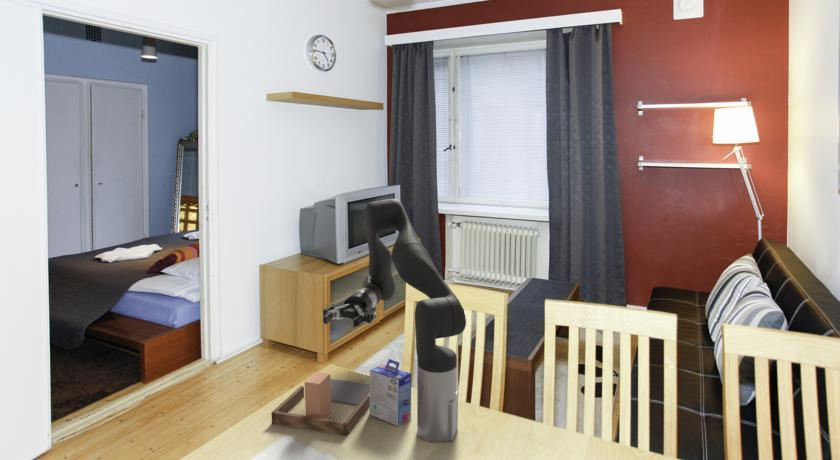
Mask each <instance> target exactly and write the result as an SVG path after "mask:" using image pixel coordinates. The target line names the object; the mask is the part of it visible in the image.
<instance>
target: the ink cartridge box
mask: <svg viewBox="0 0 840 460" xmlns="http://www.w3.org/2000/svg"><path fill="white" fill-rule="evenodd" d="M390 364H393V365H395V366H391V365H390ZM399 367H400V362H399V361H397V360H393V359H390V358H388V361H387V362H386V364H380V365H378V366H376V367H374V368H372V369H370V370H369V384H370V392H369V396H370V407H369V415H370V416H373V417H375V418H377V419H380V420H382V421H385V422H387V423H389V424H392V425H394V426H397V427H398V426H400V425H402V424H404V423H405V422H407V421H409V420H410V421H411V419H412V373H411V372H408V371H405V370H402V369H399Z"/></svg>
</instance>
